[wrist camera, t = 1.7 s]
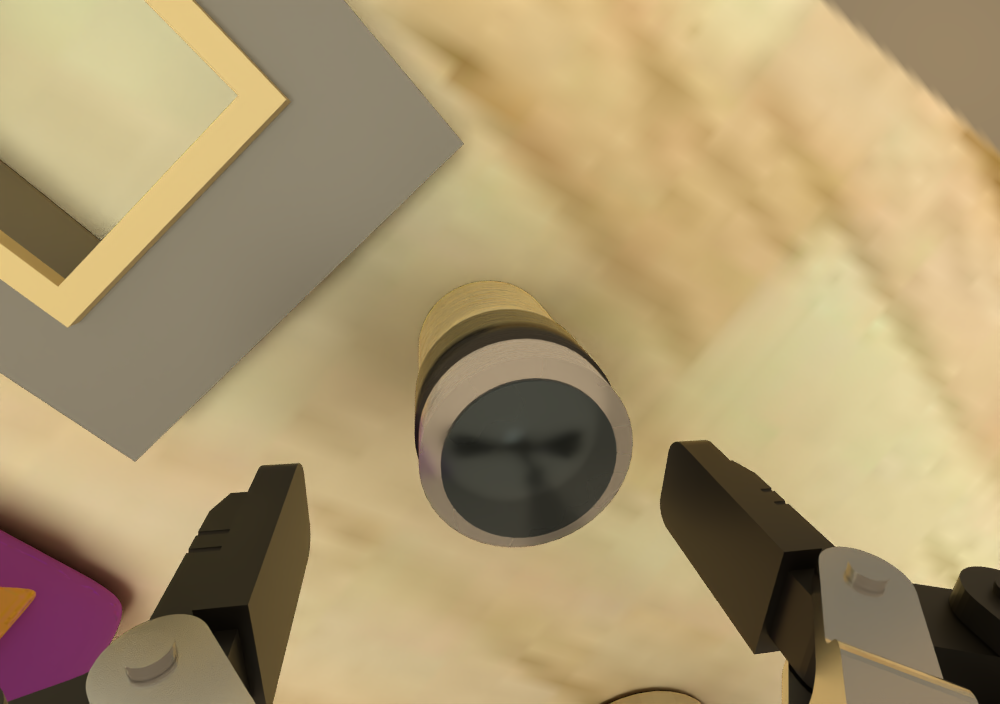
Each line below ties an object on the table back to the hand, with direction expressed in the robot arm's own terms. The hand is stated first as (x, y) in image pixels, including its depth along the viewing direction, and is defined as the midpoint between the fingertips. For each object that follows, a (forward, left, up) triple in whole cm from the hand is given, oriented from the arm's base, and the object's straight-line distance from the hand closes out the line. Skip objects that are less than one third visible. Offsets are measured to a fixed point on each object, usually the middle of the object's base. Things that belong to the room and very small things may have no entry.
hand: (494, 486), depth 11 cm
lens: (-1, -1, -9) cm, 9 cm away
